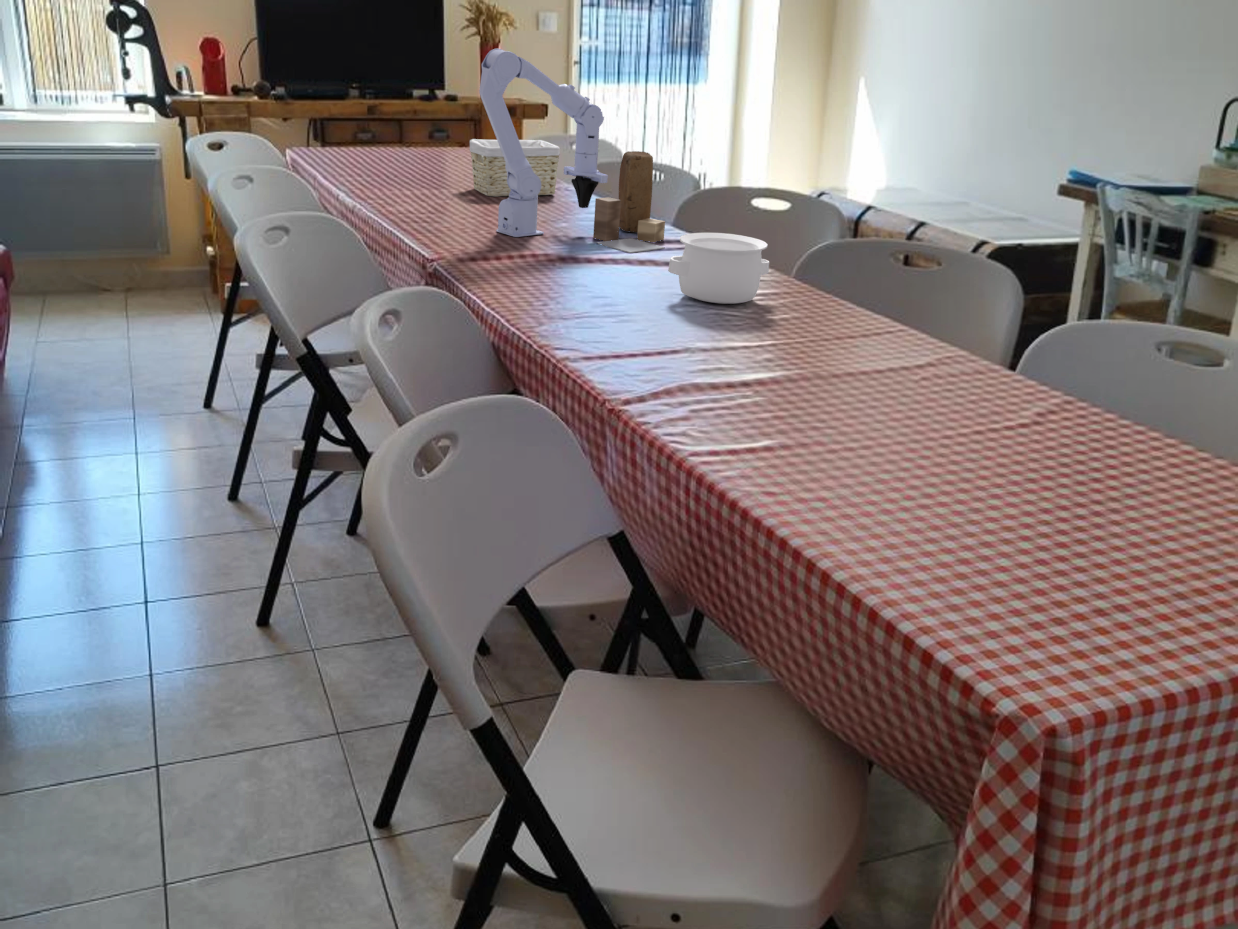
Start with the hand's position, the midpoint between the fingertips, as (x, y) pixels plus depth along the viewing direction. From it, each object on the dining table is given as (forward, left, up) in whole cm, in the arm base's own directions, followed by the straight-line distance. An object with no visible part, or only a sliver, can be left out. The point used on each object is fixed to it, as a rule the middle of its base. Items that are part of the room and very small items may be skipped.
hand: (583, 207), depth 294 cm
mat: (0, -18, -6) cm, 19 cm away
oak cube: (+10, -15, -6) cm, 19 cm away
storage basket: (+21, +55, -7) cm, 59 cm away
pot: (-20, -65, -7) cm, 68 cm away
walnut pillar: (0, -9, -6) cm, 11 cm away
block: (+15, -3, -7) cm, 17 cm away
